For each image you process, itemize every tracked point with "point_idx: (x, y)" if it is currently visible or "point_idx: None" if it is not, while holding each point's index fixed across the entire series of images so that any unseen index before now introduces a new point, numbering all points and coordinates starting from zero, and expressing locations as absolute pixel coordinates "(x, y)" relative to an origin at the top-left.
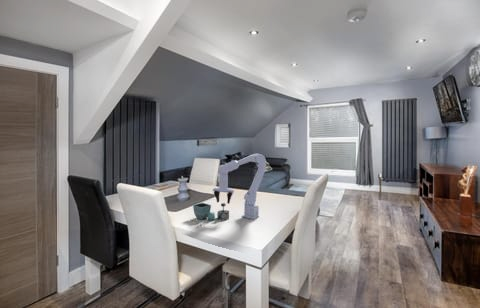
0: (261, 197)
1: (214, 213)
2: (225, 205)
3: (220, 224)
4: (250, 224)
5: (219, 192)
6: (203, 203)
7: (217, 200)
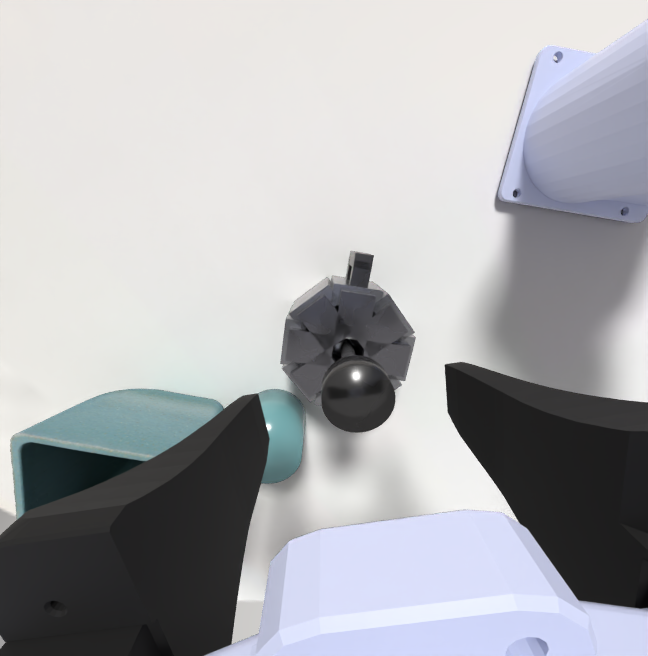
0: None
1: (298, 443)
2: (389, 379)
3: (400, 460)
4: (632, 350)
5: (157, 517)
6: (43, 441)
7: (259, 474)
